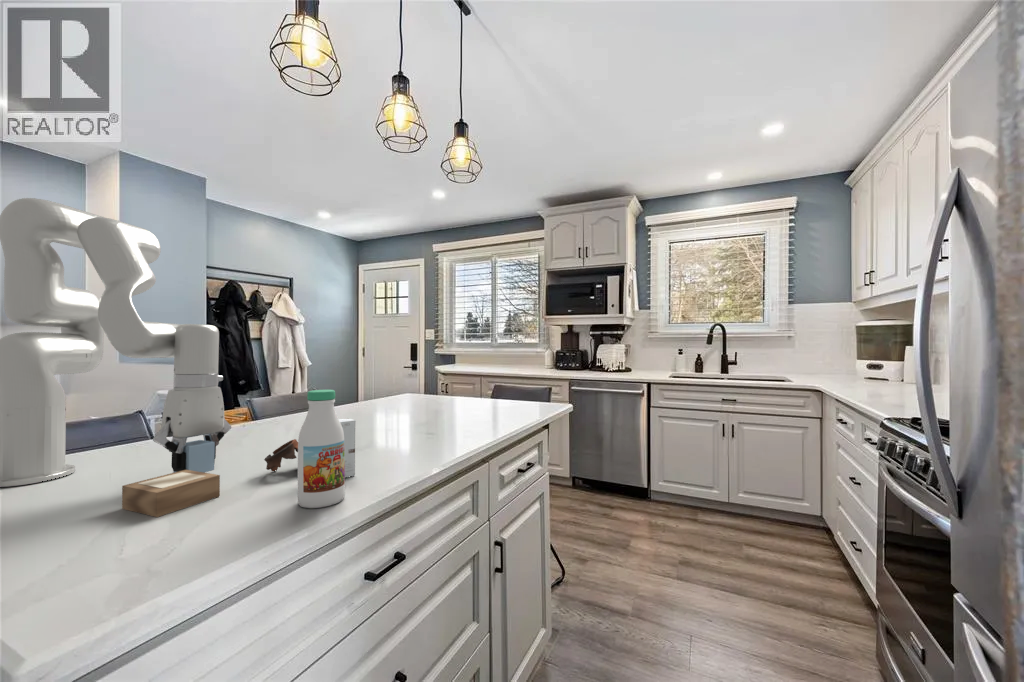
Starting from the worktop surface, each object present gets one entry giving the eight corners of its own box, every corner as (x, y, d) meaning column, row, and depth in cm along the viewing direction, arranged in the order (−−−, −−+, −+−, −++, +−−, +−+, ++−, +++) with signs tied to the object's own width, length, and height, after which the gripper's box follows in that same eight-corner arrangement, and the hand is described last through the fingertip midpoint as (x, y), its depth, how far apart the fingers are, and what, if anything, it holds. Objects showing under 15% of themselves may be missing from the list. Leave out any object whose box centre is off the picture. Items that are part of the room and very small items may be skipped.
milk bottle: (287, 508, 71) (287, 392, 71) (315, 492, 79) (315, 388, 79) (328, 510, 70) (327, 393, 70) (353, 494, 77) (352, 388, 78)
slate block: (173, 473, 86) (174, 444, 86) (199, 467, 90) (199, 439, 91) (188, 476, 84) (189, 447, 84) (214, 469, 89) (214, 441, 89)
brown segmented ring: (307, 481, 87) (285, 449, 86) (272, 498, 89) (249, 468, 87) (334, 452, 99) (314, 424, 97) (302, 468, 100) (283, 441, 99)
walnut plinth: (122, 508, 71) (122, 485, 71) (185, 490, 81) (185, 469, 81) (157, 517, 68) (157, 492, 68) (219, 496, 77) (219, 474, 77)
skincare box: (327, 482, 84) (327, 423, 85) (319, 477, 88) (319, 420, 88) (356, 475, 89) (356, 419, 89) (348, 471, 92) (348, 417, 92)
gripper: (225, 378, 97) (223, 456, 97) (137, 384, 81) (134, 477, 81) (247, 380, 94) (245, 459, 94) (160, 386, 78) (158, 482, 78)
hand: (194, 466), depth 87 cm, fingers closed on slate block, 5 cm apart
